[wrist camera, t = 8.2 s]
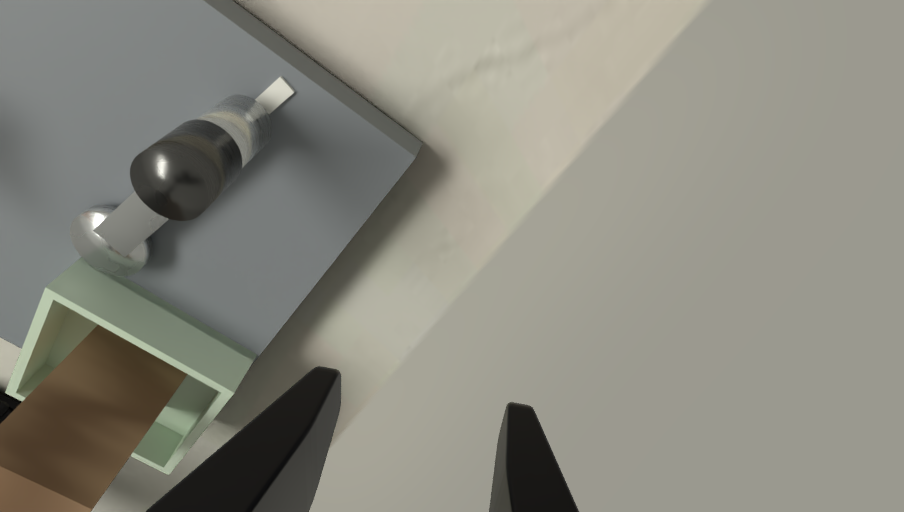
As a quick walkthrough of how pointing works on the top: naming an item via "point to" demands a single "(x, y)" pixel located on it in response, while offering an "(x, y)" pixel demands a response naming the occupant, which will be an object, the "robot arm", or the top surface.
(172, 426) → the tray
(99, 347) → the block
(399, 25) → the top surface
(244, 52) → the plate
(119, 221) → the crank
